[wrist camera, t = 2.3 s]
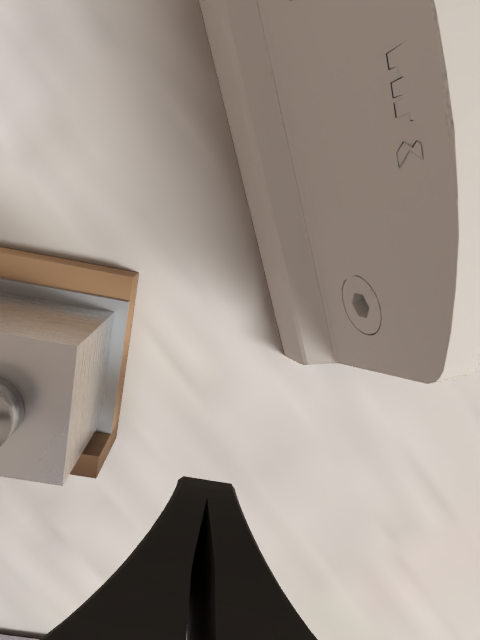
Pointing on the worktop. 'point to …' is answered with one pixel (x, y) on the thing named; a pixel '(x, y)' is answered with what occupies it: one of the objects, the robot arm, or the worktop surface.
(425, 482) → the worktop surface
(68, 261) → the rail
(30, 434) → the metal cube with knob
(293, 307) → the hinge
